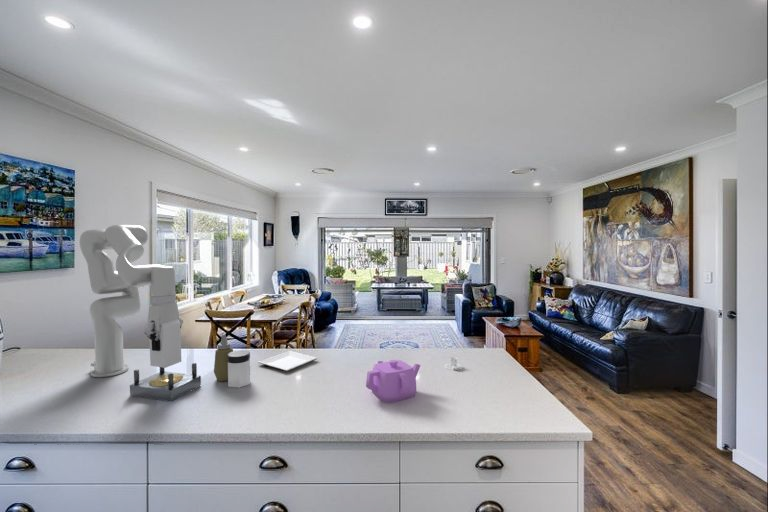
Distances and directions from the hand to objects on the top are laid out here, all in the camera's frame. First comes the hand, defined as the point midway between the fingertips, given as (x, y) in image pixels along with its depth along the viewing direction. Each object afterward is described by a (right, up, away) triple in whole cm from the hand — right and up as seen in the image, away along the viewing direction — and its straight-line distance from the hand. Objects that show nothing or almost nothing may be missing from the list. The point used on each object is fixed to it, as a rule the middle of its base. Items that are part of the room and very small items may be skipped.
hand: (165, 346), depth 136 cm
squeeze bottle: (+16, -16, +12) cm, 26 cm away
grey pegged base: (0, -17, +1) cm, 17 cm away
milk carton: (0, -7, 0) cm, 7 cm away
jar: (+24, -16, +8) cm, 30 cm away
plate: (+37, -15, +31) cm, 51 cm away
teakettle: (+84, -17, 0) cm, 86 cm away
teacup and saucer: (+109, -16, +25) cm, 113 cm away
